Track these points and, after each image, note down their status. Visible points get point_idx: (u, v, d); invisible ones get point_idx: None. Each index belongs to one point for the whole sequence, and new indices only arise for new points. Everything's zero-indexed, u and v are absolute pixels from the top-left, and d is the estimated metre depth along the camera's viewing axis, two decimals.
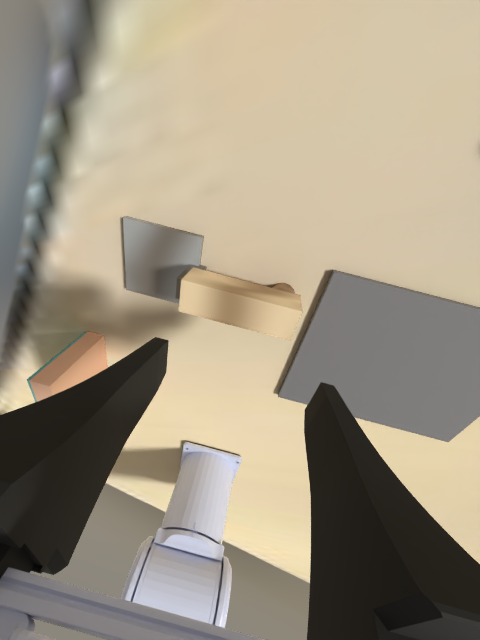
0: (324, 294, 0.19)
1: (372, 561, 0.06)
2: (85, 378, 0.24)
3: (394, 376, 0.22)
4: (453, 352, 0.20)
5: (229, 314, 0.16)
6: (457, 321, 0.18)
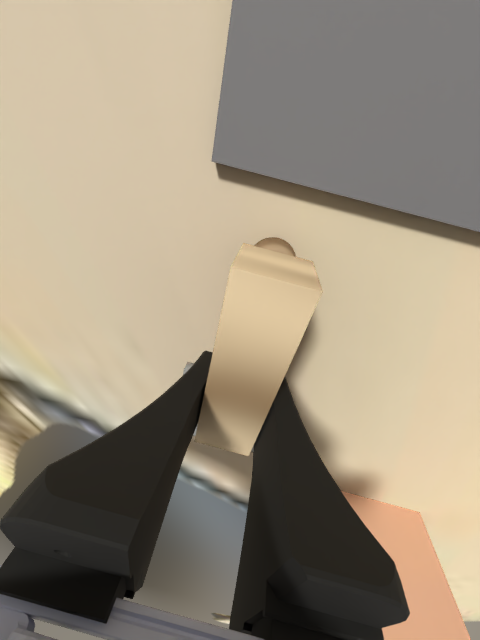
0: (264, 174, 0.08)
1: (272, 533, 0.06)
2: None
3: None
4: None
5: (249, 398, 0.09)
6: None
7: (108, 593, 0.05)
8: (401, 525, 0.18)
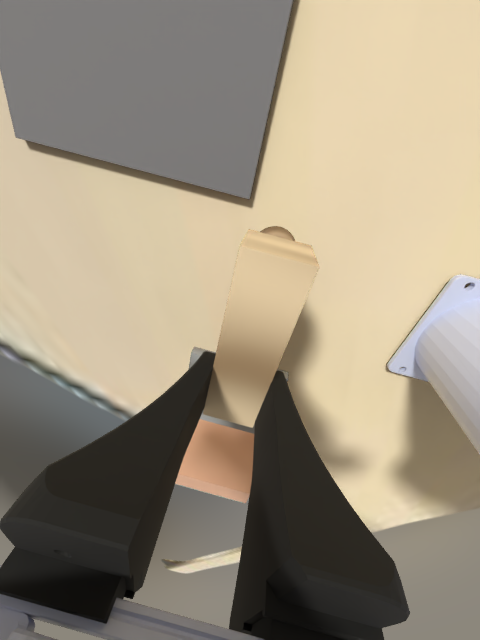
0: (46, 145, 0.14)
1: (272, 533, 0.06)
2: (210, 436, 0.22)
3: None
4: None
5: (254, 370, 0.09)
6: None
7: (108, 593, 0.05)
8: None
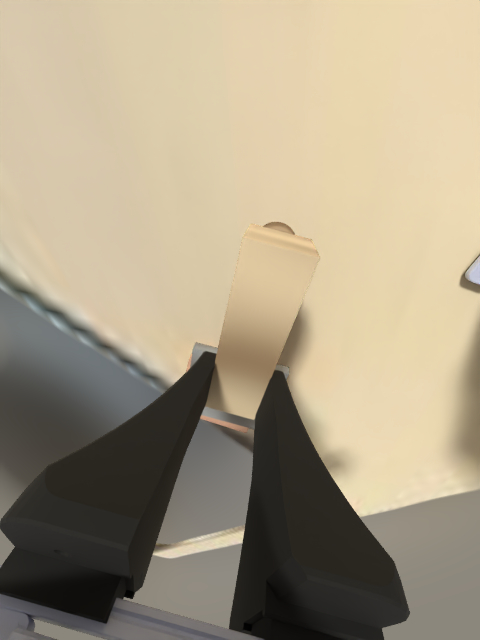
0: None
1: (272, 533, 0.06)
2: None
3: None
4: None
5: (256, 361, 0.10)
6: None
7: (108, 593, 0.05)
8: None
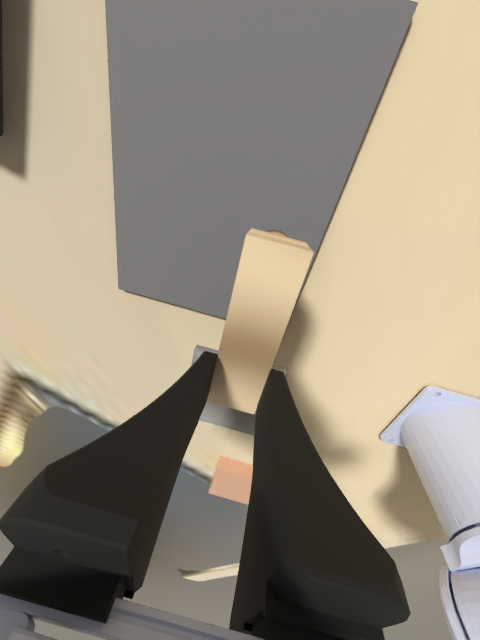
0: (140, 294, 0.20)
1: (273, 533, 0.06)
2: (233, 487, 0.32)
3: (230, 197, 0.15)
4: (175, 127, 0.14)
5: (257, 352, 0.10)
6: (131, 146, 0.15)
7: (107, 593, 0.05)
8: None
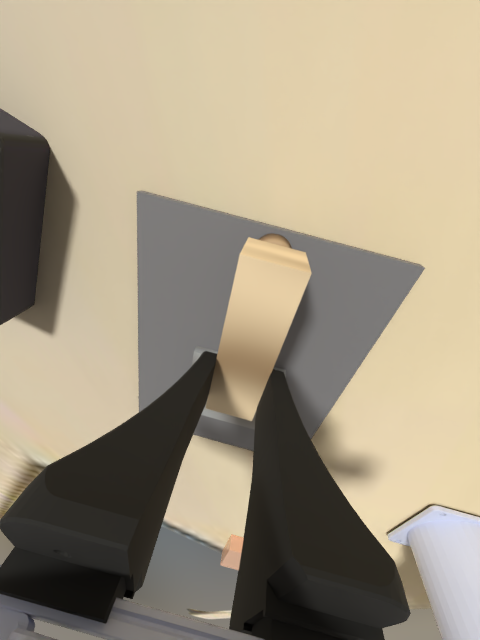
0: None
1: (272, 533, 0.06)
2: None
3: None
4: (199, 323, 0.15)
5: (253, 366, 0.10)
6: (156, 331, 0.16)
7: (108, 593, 0.05)
8: None
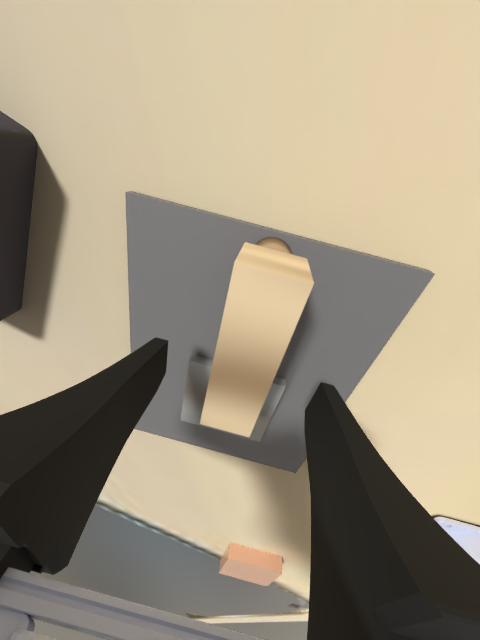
0: (155, 434, 0.20)
1: (372, 561, 0.06)
2: (244, 571, 0.32)
3: None
4: (194, 330, 0.14)
5: (250, 381, 0.10)
6: (149, 339, 0.15)
7: None
8: (264, 572, 0.31)
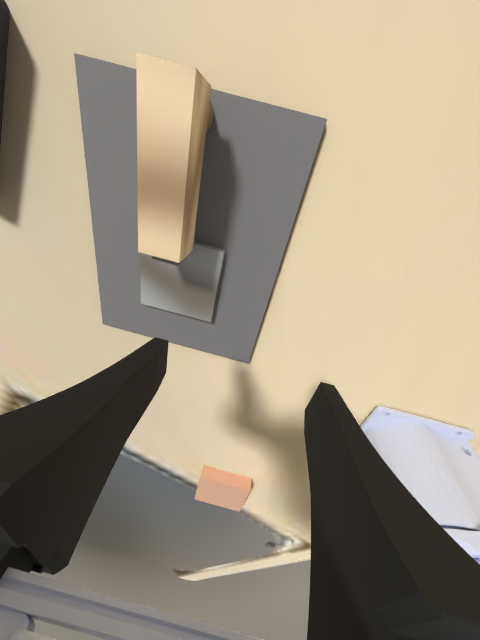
0: None
1: (372, 561, 0.06)
2: (216, 493, 0.35)
3: None
4: None
5: (169, 190, 0.12)
6: (107, 214, 0.17)
7: None
8: (234, 491, 0.34)
